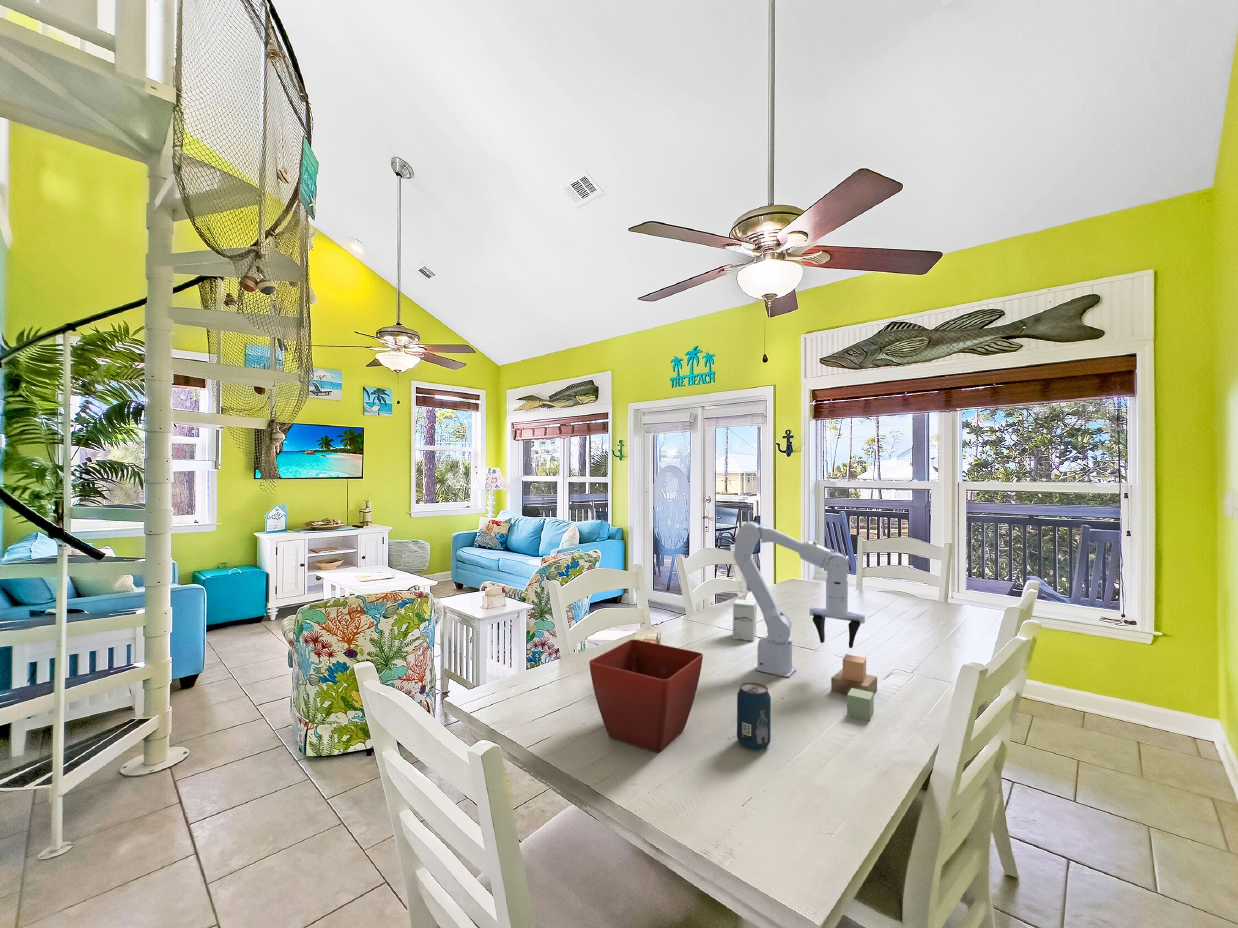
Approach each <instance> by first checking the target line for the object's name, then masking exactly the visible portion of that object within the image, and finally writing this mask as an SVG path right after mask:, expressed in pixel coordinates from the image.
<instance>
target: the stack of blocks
mask: <svg viewBox="0 0 1238 928" xmlns="http://www.w3.org/2000/svg"><path fill="white" fill-rule="evenodd" d="M661 636H662V633H661V631H659V630H657V629H643V628H642V629H639V628H637V629H636V632H635V635H634V636H633V639H635V640H641V641H646V642H651V643H656V644H660V645H662V640H661Z"/></svg>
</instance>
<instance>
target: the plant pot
mask: <svg viewBox="0 0 1238 928" xmlns="http://www.w3.org/2000/svg"><path fill="white" fill-rule="evenodd" d="M703 658H704V654H703V653H702V652H698V651H694V650H689V649H684V648H679V647H674V646H671V645H670V646H669V645H664V644H661V645H660V644H656V643H651V642H646V641H641V640H635V639H634V638H633V639H629V640H628V641H626V642H624V643H622V644H619V645H617V646H615V647H614V648H612V649H610V650H608V651H606V652H604V653H602V654H600V655H598V656H596V657H594V658H593V659H590V660H589V664H588V665H589V671H590V672H589V673H590V677H591V682H592V688H593V691H594V695H595V700H596V704H597V706H598V711H599V714H600V716H601V720H602V722H603V724H604V727H605V731H606V732H607V735H608V737H609V738H610V739H613V740H617V741H620V742H624V743H626V744H629V745H633V746H635V747H638V748H642V749H645V750H648V751H651V752H655V753H660V752H662V751H663V750H664V749H665V748H666V747H667V746H668V745H669V744H670V743H671V742H672V741H673V740H674V739H675V738H677V737H678V735H680V734H681V733H682V732H683V731H684V730H685V728H686V725H687V722H688V720H689V717H690V714H691V710H692V708H693V704H694V701H695V697H696V694H697V689H698V685H699V681H700V676H701V671H702V665H703Z"/></svg>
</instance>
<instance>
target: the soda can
mask: <svg viewBox="0 0 1238 928" xmlns="http://www.w3.org/2000/svg"><path fill="white" fill-rule="evenodd" d="M736 696H737V697H736V698H737V699H736V700H737V702H736V738H737V741H738V742H739V744H740V746H741V747H742V748H744V749H745V750H747V751H751V750H754V751H753V752H762V751H764V750H766V749H767V748H768V746H769V745H770V744H771V733H772V732H771V731H772V730H771V726H772V725H771V720H772V719H771V718H772V717H771V716H772V715H771V712H772V710H771V705H772V704H771V702H772V701H771V700H772V699H771V694H770V692H769V689H768V687H767V686H766V685H764V684H761V683H758V682H743V683H741V684H740V686H739V690H738V692H737V694H736ZM761 750H762V751H761Z"/></svg>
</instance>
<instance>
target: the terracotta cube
mask: <svg viewBox="0 0 1238 928" xmlns="http://www.w3.org/2000/svg"><path fill="white" fill-rule="evenodd" d="M842 669H843V679H848V680H852V681H857V682H862V683H863V682H864V680H865V678H866V674H867V657H863V656H857V655H852V654H845V656H844V657H843V658H842Z"/></svg>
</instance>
